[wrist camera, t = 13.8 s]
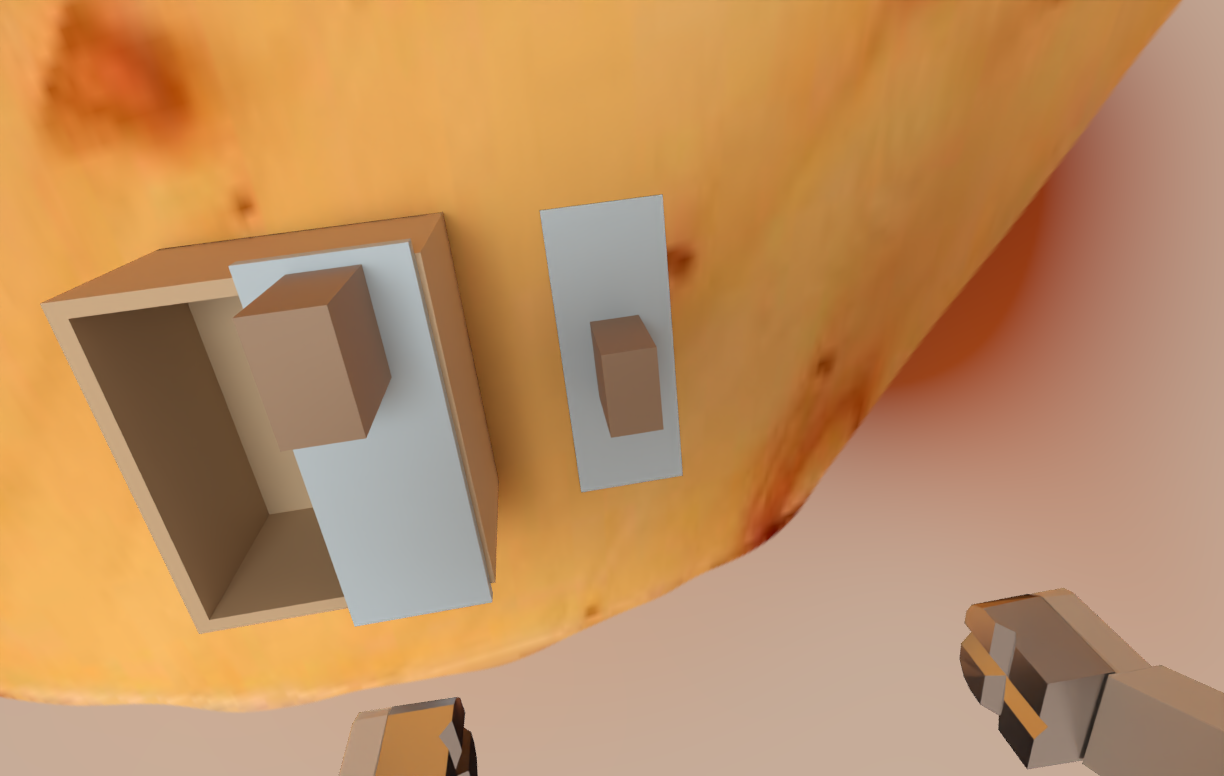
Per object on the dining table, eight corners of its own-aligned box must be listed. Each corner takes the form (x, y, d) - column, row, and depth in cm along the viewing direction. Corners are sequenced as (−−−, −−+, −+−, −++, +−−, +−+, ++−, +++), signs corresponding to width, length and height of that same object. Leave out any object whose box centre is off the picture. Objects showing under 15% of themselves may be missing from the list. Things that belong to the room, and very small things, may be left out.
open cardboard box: (442, 212, 30) (420, 252, 22) (498, 482, 35) (495, 584, 28) (159, 249, 29) (39, 303, 21) (265, 520, 35) (199, 635, 27)
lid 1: (410, 238, 22) (384, 278, 18) (492, 592, 28) (489, 690, 24) (235, 261, 22) (160, 308, 17) (357, 615, 28) (327, 720, 23)
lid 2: (659, 192, 31) (685, 211, 26) (680, 469, 37) (704, 523, 33) (539, 208, 31) (544, 229, 26) (580, 486, 37) (590, 543, 32)
